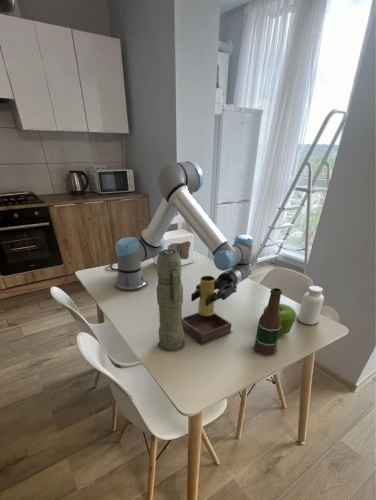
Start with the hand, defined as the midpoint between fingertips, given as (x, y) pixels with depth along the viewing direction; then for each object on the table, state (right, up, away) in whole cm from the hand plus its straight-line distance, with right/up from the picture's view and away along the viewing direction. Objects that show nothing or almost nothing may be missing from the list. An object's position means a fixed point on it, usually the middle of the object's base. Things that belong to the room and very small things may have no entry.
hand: (199, 299), depth 104 cm
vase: (+3, -4, +8) cm, 9 cm away
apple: (+31, -11, +12) cm, 36 cm away
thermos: (-10, -16, +4) cm, 20 cm away
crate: (+3, -11, +12) cm, 17 cm away
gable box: (-13, +33, +77) cm, 85 cm away
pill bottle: (+47, -7, +19) cm, 51 cm away
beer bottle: (+24, -18, +2) cm, 30 cm away
